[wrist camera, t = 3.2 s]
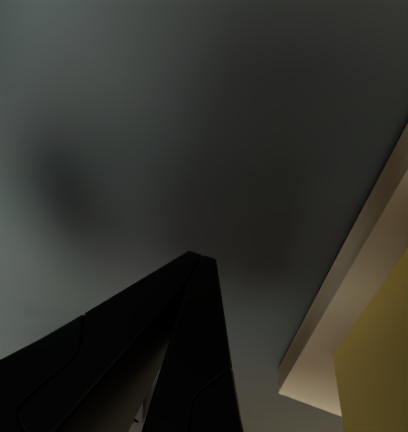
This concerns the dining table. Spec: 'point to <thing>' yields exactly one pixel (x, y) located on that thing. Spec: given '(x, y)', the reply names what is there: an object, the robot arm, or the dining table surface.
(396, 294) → the yellow block
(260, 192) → the dining table surface
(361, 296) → the panel
